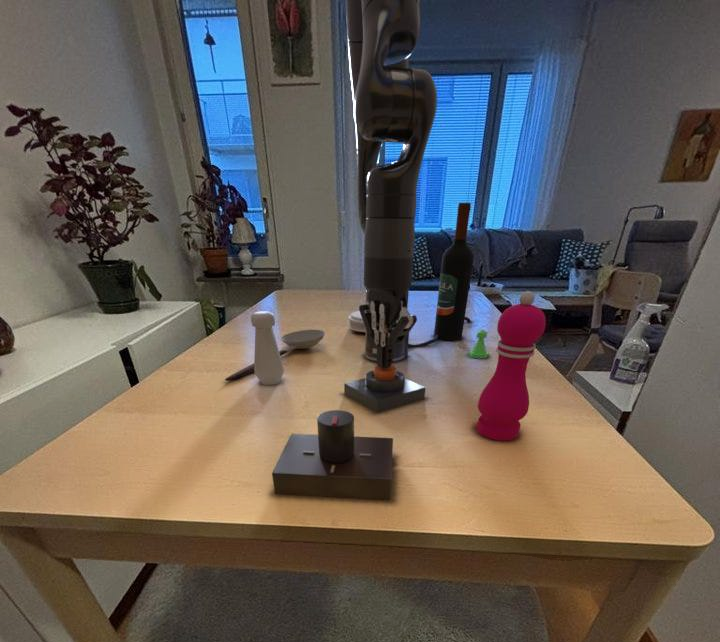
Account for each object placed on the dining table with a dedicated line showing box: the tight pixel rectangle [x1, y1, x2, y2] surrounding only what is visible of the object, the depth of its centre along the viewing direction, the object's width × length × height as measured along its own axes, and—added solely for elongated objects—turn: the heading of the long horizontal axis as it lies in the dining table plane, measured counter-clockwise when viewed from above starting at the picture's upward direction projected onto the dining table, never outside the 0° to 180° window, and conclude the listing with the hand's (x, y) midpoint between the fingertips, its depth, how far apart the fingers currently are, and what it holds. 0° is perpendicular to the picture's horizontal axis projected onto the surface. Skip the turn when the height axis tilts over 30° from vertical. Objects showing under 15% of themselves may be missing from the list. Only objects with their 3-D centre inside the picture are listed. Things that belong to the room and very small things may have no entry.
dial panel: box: [271, 433, 394, 501], centre depth 50 cm, size 14×10×3 cm
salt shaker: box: [250, 310, 285, 386], centre depth 75 cm, size 6×6×13 cm
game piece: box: [468, 329, 489, 359], centre depth 92 cm, size 4×4×6 cm
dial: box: [316, 409, 355, 463], centre depth 48 cm, size 4×4×5 cm
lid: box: [347, 310, 365, 333], centre depth 112 cm, size 13×13×5 cm
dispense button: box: [373, 365, 397, 380], centre depth 70 cm, size 4×4×2 cm
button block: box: [343, 370, 426, 414], centre depth 72 cm, size 11×10×4 cm
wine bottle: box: [433, 202, 474, 342], centre depth 99 cm, size 8×8×30 cm
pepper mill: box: [476, 290, 547, 441], centre depth 56 cm, size 7×7×20 cm
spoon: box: [224, 329, 326, 381], centre depth 90 cm, size 11×33×3 cm, turn 152°
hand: (384, 366), depth 69 cm, fingers closed
